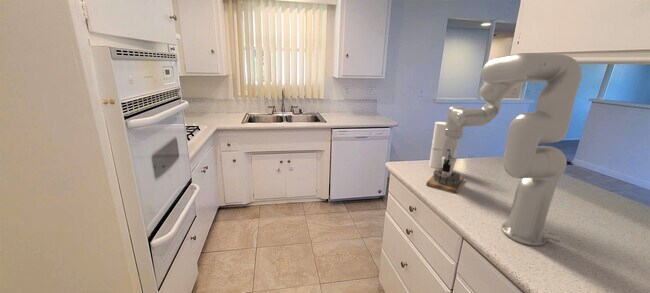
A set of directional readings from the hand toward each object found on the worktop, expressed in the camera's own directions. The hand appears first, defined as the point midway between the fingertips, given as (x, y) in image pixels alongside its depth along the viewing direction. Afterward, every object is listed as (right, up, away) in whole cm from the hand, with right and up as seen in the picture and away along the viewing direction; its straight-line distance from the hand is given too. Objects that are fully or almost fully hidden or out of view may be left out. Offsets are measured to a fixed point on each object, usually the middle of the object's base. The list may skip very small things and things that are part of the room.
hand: (447, 169), depth 131 cm
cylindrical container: (+4, -1, +23) cm, 24 cm away
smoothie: (0, -4, +1) cm, 4 cm away
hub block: (0, -7, +2) cm, 7 cm away
